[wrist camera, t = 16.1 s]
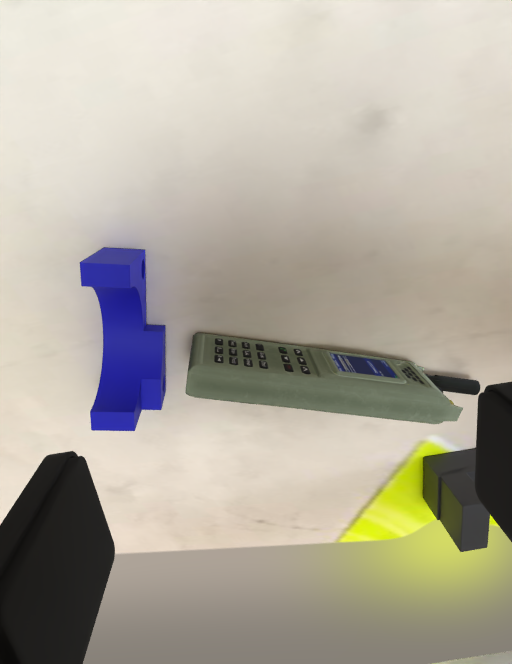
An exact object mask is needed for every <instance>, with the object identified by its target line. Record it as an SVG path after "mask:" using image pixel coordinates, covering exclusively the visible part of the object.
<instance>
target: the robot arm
mask: <svg viewBox="0 0 512 664" xmlns="http://www.w3.org/2000/svg"><path fill="white" fill-rule="evenodd" d="M475 490H476V494H477V496H478V498H479V500H480V502H481V503H482V504H483V506H484V507H485V508H486V509H487V511H488V512H489V513H490V515H491V516H492V517H493V518H494V520H495V521H496V522H497V524H498V525H499V526H500V527H501V529H502V530H503V531H504V533H505V534H506V535H507V536H508V538H509V539H510V540H511V542H512V382H507V383H500V384H494V385H488V386H487V387H486V388H485V391H484V392H483V393H481V394H480V395H479V397H478V416H477V440H476V465H475ZM114 555H115V547H114V542H113V539H112V536H111V533H110V530H109V527H108V524H107V521H106V518H105V515H104V512H103V510H102V507H101V504H100V501H99V498H98V495H97V492H96V489H95V486H94V483H93V480H92V477H91V474H90V471H89V468H88V465H87V463H86V460H85V458H84V457H82V456H79V457H78V456H77V454H76V453H75V452H73V451H70V452H64V453H58V454H51V455H48V456H46V457H45V458H44V460H43V461H42V463H41V464H40V466H39V467H38V469H37V470H36V472H35V473H34V475H33V476H32V478H31V479H30V481H29V482H28V484H27V485H26V487H25V488H24V490H23V492H22V493H21V495H20V496H19V498H18V499H17V501H16V502H15V504H14V505H13V507H12V508H11V510H10V511H9V513H8V514H7V516H6V517H5V519H4V520H3V522H2V523H1V525H0V664H83V661H84V657H85V654H86V651H87V647H88V644H89V641H90V637H91V634H92V630H93V627H94V624H95V621H96V617H97V614H98V611H99V607H100V604H101V601H102V598H103V594H104V591H105V588H106V584H107V581H108V578H109V574H110V571H111V568H112V564H113V561H114ZM431 664H512V651H509V652H502V653H496V654H489V655H483V656H476V657H470V658H464V659H457V660H451V661H445V662H438V663H431Z"/></svg>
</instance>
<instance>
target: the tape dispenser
mask: <svg viewBox="0 0 512 664" xmlns="http://www.w3.org/2000/svg"><path fill="white" fill-rule="evenodd" d="M475 465H476V449H469V450H463V451H457V452H451V453H445V454H439V455H433V456H427V457H424V481H423V498H424V500H425V501H426V503H427V504H428V506H429V507H430V509H431V511H432V512H433V514H434V515H435V517H436V518H437V520H440V521H441V522H442V524H443V525H444V527H445V529H446V530H447V532H448V533H449V535H450V536H451V538H452V539H453V541H454V542H455V544H456V545H457V547H458V549H459V550H460V551H461V552H464V551H469V550H475V549H481V548H487V544H488V531H489V519H490V513H489V512H488V511H487V509H486V508H485V507H484V506H483V504H482V503H481V502H480V500H479V498H478V496H477V494H476V490H475Z"/></svg>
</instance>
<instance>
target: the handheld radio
mask: <svg viewBox="0 0 512 664" xmlns="http://www.w3.org/2000/svg"><path fill="white" fill-rule="evenodd" d="M423 371H424V368H423V367H419V366H416V365H415V363H413V362H410V361H403V360H396V359H389V358H382V357H375V356H367V355H360V354H353V353H346V352H339V351H332V350H325V349H318V348H311V347H303V346H295V345H288V344H280V343H272V342H265V341H257V340H250V339H242V338H234V337H227V336H219V335H211V334H204V333H196V334H195V335H193V342H192V348H191V355H190V361H189V368H188V375H187V384H186V394H188V395H189V396H193V397H197V398H205V399H214V400H223V401H232V402H240V403H249V404H262V405H271V406H279V407H288V408H297V409H306V410H315V411H324V412H332V413H341V414H350V415H359V416H368V417H376V418H385V419H394V420H403V421H412V422H421V423H429V424H439V423H442V422H443V421H457V420H458V418H459V416H460V413H461V411H462V409H463V408H461V407H458V406H455V405H454V403H453V402H452V401H451V400H449V399H448V398H447V397H446V396H445V395H444V394H443V391H448V392H455V393H463V394H471V395H477V394H478V393H479V391H480V384H479V382H478V381H476V380H469V379H461V378H453V377H446V376H438V375H435V376H430V375H427V374H424V373H423Z"/></svg>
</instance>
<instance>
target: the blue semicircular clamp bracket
mask: <svg viewBox="0 0 512 664" xmlns="http://www.w3.org/2000/svg"><path fill="white" fill-rule="evenodd" d="M80 271H81V285H82V286H89V287H93V289H94V290H95V292H96V294H97V297H98V300H99V303H100V308H101V313H102V321H103V361H102V371H101V377H100V383H99V388H98V392H97V396H96V399H95V402H94V405H93V407H92V409H91V411H90V415H91V430H110V431H135V428H136V425H137V422H138V419H139V416H140V413H141V410H161V408H162V404H163V400H164V396H165V325H146V277H145V250H141V249H123V248H105V247H104V248H102V249H101V250H99V251H98V252H96V253H94V254H93V255H91V256H90V257H88V258H86V259H85V260H83V261H81V262H80Z"/></svg>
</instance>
